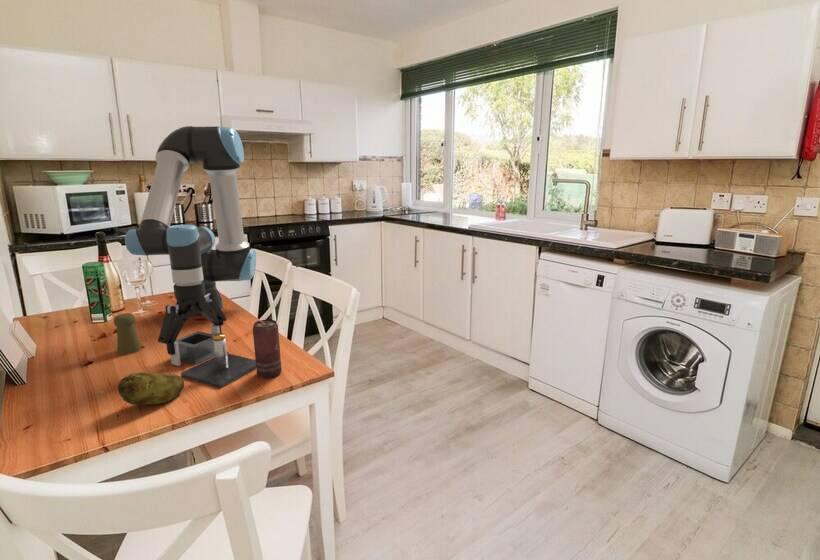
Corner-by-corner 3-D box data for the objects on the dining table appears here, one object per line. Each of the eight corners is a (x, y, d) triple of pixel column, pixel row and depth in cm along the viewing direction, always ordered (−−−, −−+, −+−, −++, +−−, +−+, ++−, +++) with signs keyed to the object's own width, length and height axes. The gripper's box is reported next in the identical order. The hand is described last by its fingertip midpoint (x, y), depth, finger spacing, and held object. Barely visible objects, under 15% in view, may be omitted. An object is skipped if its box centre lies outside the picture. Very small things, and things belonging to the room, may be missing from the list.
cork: (130, 355, 125) (123, 318, 122) (112, 353, 126) (105, 317, 124) (146, 346, 131) (140, 311, 128) (129, 345, 132) (123, 310, 129)
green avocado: (188, 402, 101) (184, 370, 99) (121, 419, 94) (115, 385, 92) (184, 387, 107) (180, 357, 105) (121, 402, 101) (115, 370, 99)
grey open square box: (200, 346, 131) (198, 331, 130) (222, 352, 127) (220, 336, 126) (173, 358, 123) (170, 341, 122) (195, 364, 119) (193, 347, 118)
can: (268, 366, 119) (264, 317, 115) (286, 371, 116) (282, 321, 112) (251, 375, 113) (246, 324, 110) (269, 381, 111) (265, 328, 107)
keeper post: (224, 355, 125) (220, 322, 122) (262, 365, 119) (259, 330, 117) (181, 376, 113) (175, 340, 110) (221, 388, 107) (216, 349, 104)
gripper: (215, 271, 132) (223, 337, 138) (134, 292, 110) (147, 370, 116) (234, 274, 129) (241, 341, 134) (155, 296, 107) (166, 375, 112)
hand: (197, 355), depth 125 cm, fingers open, 13 cm apart
